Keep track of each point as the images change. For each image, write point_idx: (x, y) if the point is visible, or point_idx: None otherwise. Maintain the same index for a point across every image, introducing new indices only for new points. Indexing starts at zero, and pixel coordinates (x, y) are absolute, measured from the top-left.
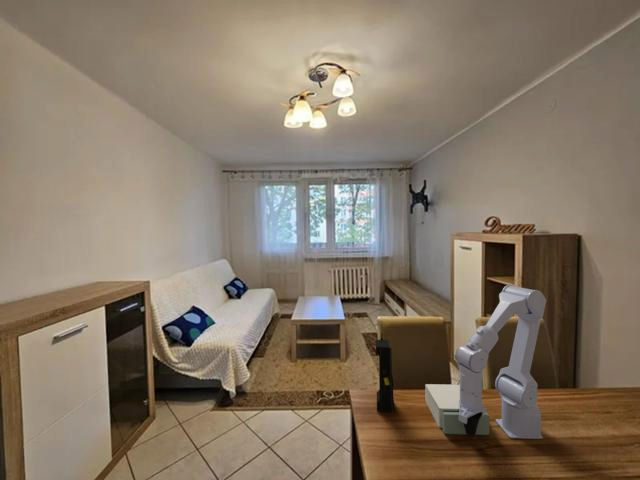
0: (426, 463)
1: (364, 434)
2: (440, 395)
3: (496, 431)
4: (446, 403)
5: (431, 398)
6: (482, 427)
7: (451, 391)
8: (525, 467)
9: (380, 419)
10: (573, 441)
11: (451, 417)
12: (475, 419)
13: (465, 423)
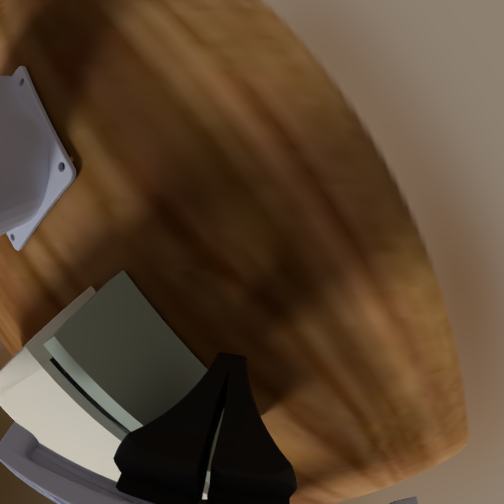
0: (429, 412)
1: (365, 493)
2: (117, 479)
3: (72, 237)
4: None
5: None
6: (127, 322)
7: (55, 443)
8: (272, 77)
9: (295, 497)
10: (11, 8)
11: None
12: (295, 484)
13: (416, 499)
